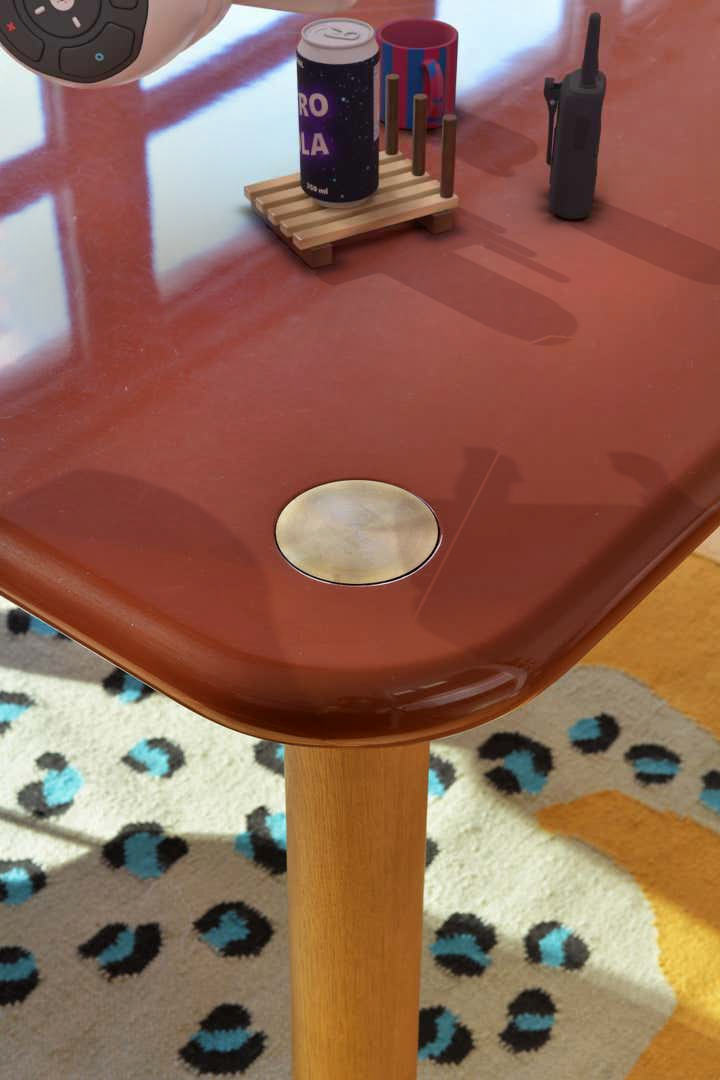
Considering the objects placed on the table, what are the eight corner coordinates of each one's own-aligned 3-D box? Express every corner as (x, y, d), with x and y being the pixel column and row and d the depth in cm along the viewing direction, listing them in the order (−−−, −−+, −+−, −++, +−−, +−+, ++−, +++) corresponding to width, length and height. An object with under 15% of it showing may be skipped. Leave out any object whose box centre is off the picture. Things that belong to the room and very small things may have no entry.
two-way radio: (590, 226, 100) (615, 22, 90) (530, 221, 101) (548, 18, 91) (594, 191, 104) (618, -8, 94) (536, 186, 105) (554, -11, 95)
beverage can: (319, 172, 102) (315, 10, 94) (389, 184, 100) (392, 22, 92) (288, 205, 98) (281, 40, 90) (361, 219, 96) (361, 52, 88)
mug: (448, 95, 118) (451, 16, 113) (467, 146, 110) (471, 64, 106) (371, 98, 117) (371, 19, 113) (385, 150, 110) (386, 67, 105)
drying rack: (303, 271, 96) (299, 161, 90) (242, 212, 102) (235, 106, 97) (460, 227, 100) (466, 120, 95) (392, 173, 107) (394, 69, 101)
